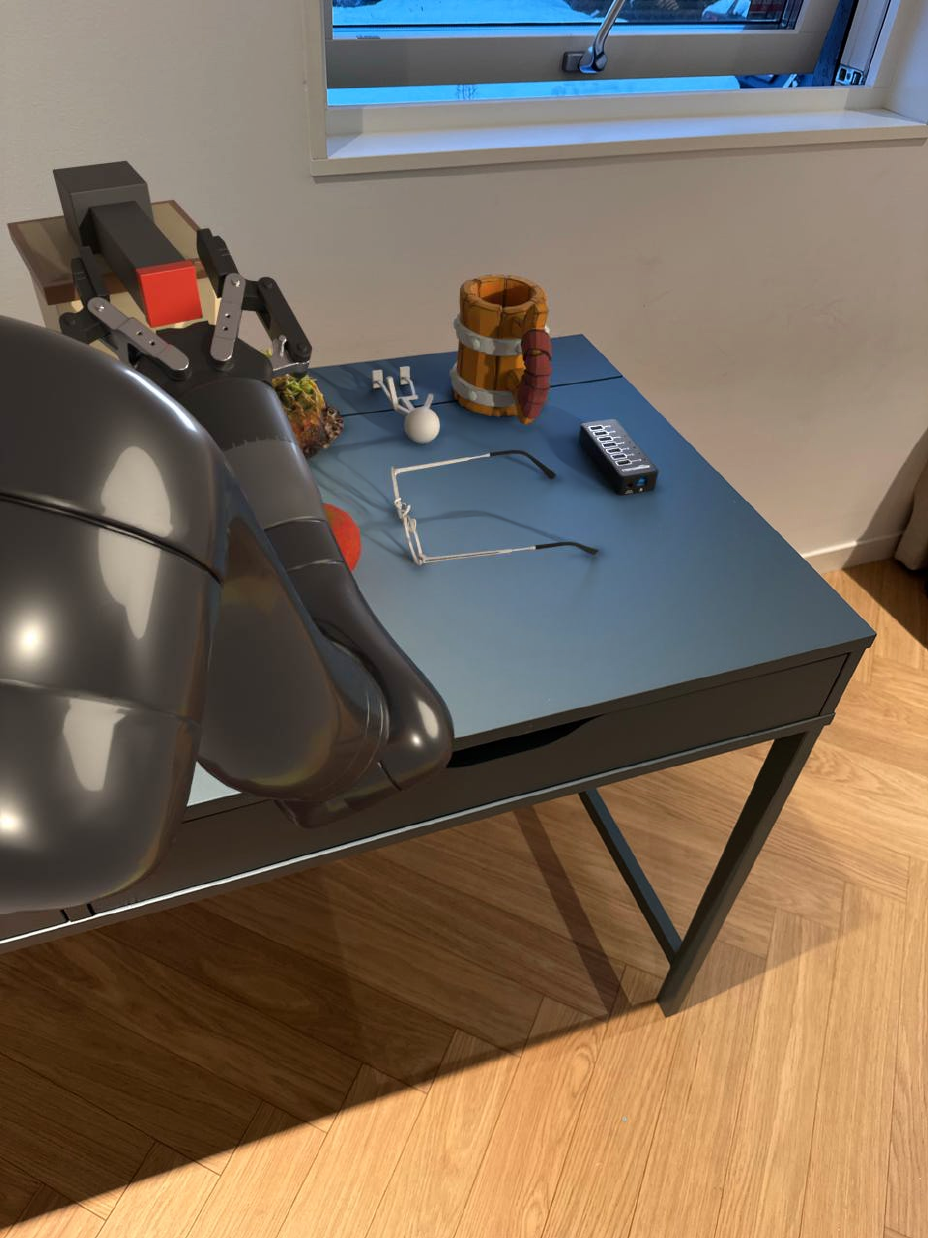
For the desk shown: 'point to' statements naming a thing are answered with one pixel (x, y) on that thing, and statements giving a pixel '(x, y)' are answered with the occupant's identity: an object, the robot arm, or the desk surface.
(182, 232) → the tall tapered bin
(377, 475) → the desk surface
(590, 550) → the eyeglasses
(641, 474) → the multiport hub
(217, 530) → the robot arm
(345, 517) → the apple
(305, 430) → the cactus
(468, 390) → the mug
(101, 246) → the flashlight
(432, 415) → the figurine
